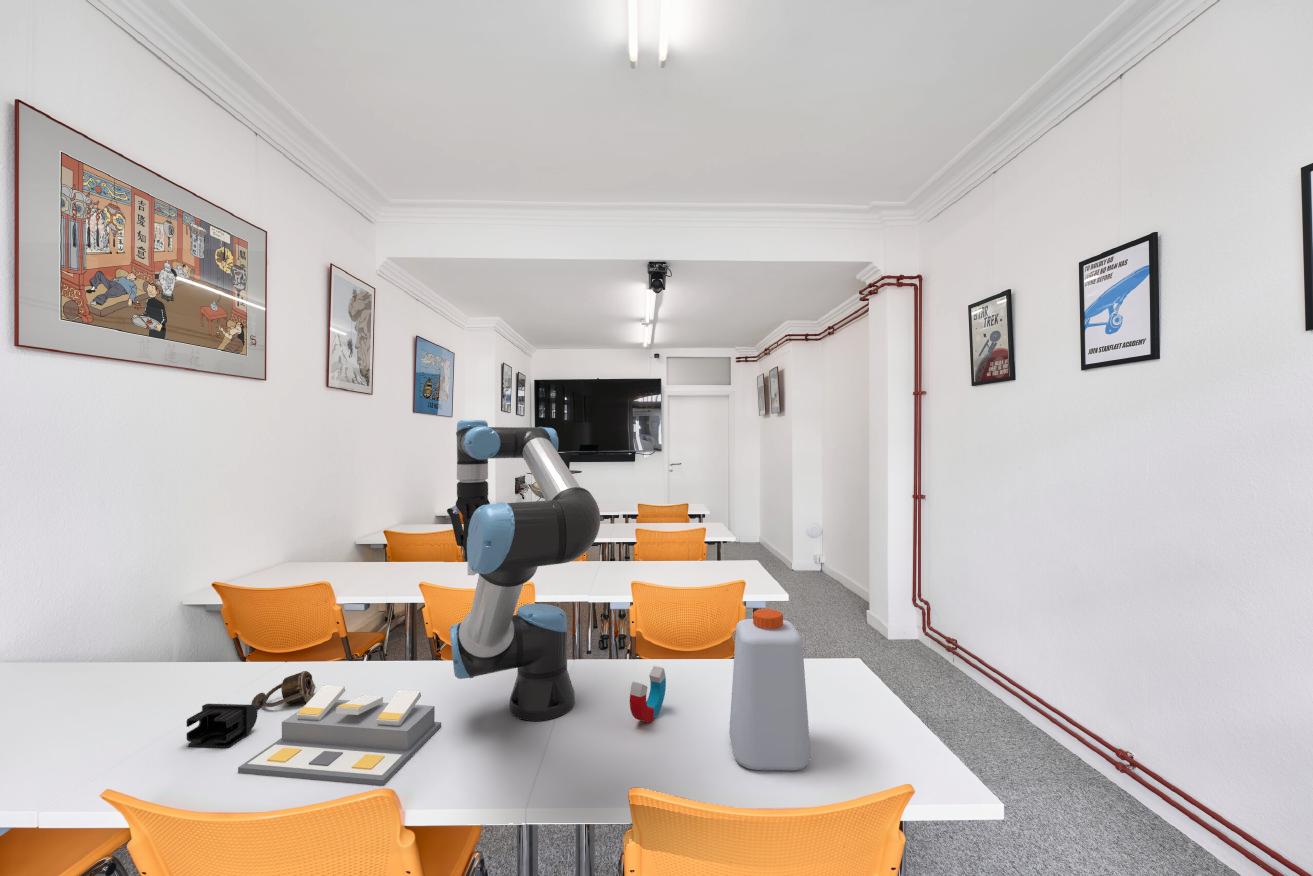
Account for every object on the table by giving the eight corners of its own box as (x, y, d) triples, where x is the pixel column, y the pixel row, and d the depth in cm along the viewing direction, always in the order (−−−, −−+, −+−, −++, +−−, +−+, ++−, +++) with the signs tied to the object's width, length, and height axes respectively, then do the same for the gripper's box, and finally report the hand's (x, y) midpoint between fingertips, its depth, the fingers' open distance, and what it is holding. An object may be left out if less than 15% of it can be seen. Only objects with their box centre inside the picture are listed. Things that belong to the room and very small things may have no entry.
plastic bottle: (727, 729, 116) (726, 601, 116) (797, 730, 115) (796, 601, 115) (735, 773, 101) (735, 625, 101) (815, 774, 100) (815, 626, 100)
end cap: (258, 730, 116) (258, 699, 116) (230, 749, 109) (230, 716, 109) (214, 729, 117) (214, 698, 117) (184, 747, 109) (184, 715, 109)
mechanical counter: (294, 692, 122) (324, 665, 132) (241, 686, 122) (274, 659, 132) (297, 719, 123) (326, 690, 133) (244, 713, 124) (277, 684, 134)
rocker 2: (421, 696, 115) (420, 691, 115) (399, 725, 108) (398, 720, 107) (399, 694, 116) (398, 689, 116) (377, 724, 109) (375, 719, 108)
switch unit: (441, 726, 117) (441, 704, 117) (383, 785, 97) (383, 758, 97) (317, 717, 121) (317, 695, 121) (237, 772, 101) (237, 746, 101)
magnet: (656, 705, 126) (656, 663, 126) (666, 708, 125) (666, 666, 125) (629, 729, 116) (629, 683, 116) (640, 732, 114) (639, 686, 114)
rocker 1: (345, 690, 118) (344, 685, 117) (319, 720, 110) (318, 715, 110) (325, 689, 118) (323, 684, 118) (298, 718, 111) (296, 713, 110)
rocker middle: (382, 702, 116) (383, 696, 117) (357, 715, 109) (358, 707, 109) (361, 701, 117) (362, 694, 117) (335, 713, 109) (336, 706, 110)
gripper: (503, 479, 137) (503, 571, 137) (455, 479, 139) (456, 569, 139) (490, 482, 129) (490, 578, 129) (440, 481, 131) (440, 577, 131)
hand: (472, 573), depth 134 cm, fingers closed
